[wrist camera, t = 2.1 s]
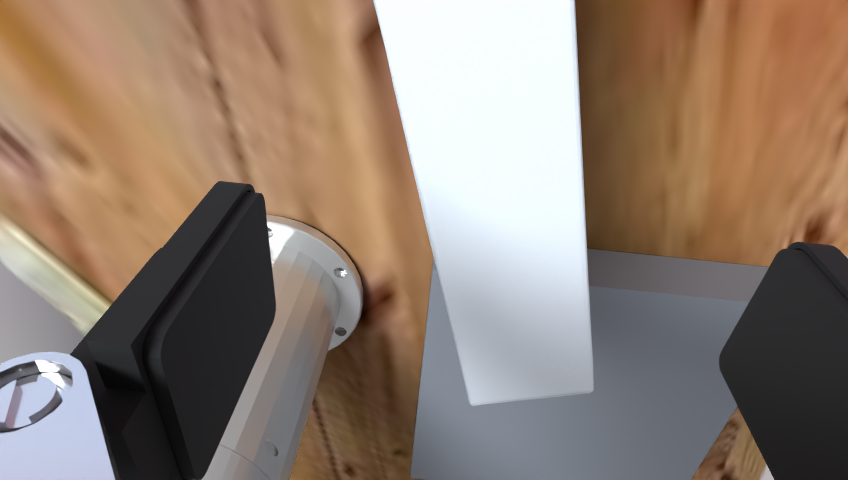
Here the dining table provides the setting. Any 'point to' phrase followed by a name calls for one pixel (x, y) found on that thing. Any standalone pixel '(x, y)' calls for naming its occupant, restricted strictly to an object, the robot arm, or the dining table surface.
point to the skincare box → (500, 184)
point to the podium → (598, 382)
